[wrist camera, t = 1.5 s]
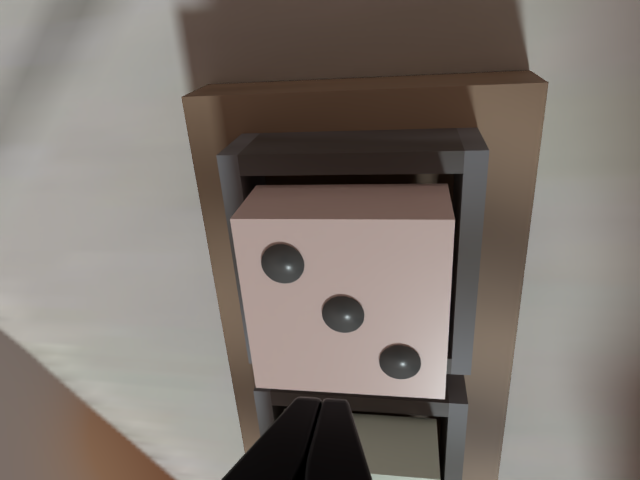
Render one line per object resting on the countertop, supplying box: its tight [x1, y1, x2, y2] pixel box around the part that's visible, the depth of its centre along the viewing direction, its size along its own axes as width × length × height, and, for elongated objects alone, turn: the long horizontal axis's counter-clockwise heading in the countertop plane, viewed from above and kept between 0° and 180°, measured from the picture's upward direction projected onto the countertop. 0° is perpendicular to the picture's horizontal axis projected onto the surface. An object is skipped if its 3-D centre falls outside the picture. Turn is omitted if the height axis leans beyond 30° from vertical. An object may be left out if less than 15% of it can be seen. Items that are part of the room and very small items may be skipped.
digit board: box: [182, 70, 548, 480], centre depth 17 cm, size 22×9×4 cm, turn 4°
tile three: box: [230, 184, 455, 399], centre depth 12 cm, size 4×4×2 cm
